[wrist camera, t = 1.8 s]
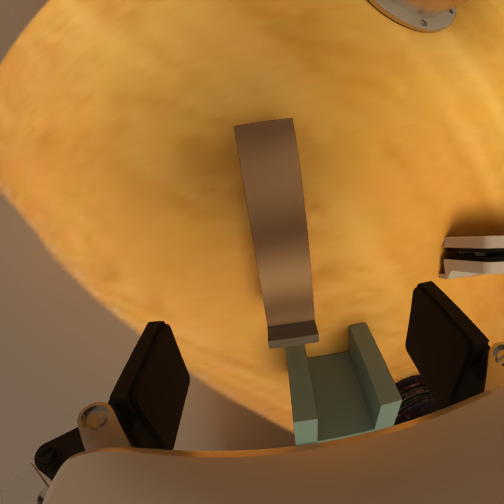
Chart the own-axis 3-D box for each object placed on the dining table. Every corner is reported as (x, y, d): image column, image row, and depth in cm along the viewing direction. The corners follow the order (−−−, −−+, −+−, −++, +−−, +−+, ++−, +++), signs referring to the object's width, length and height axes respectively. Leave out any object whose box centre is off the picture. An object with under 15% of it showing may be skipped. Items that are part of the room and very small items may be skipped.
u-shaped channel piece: (284, 335, 32) (294, 433, 19) (365, 322, 31) (406, 409, 19) (289, 372, 34) (297, 462, 21) (362, 359, 33) (393, 443, 21)
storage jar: (367, 398, 36) (393, 481, 22) (425, 364, 34) (467, 441, 20) (385, 422, 39) (408, 492, 25) (435, 393, 37) (468, 459, 23)
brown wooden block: (239, 130, 24) (230, 124, 16) (284, 123, 23) (296, 115, 16) (267, 298, 30) (269, 348, 22) (305, 293, 29) (318, 341, 22)
